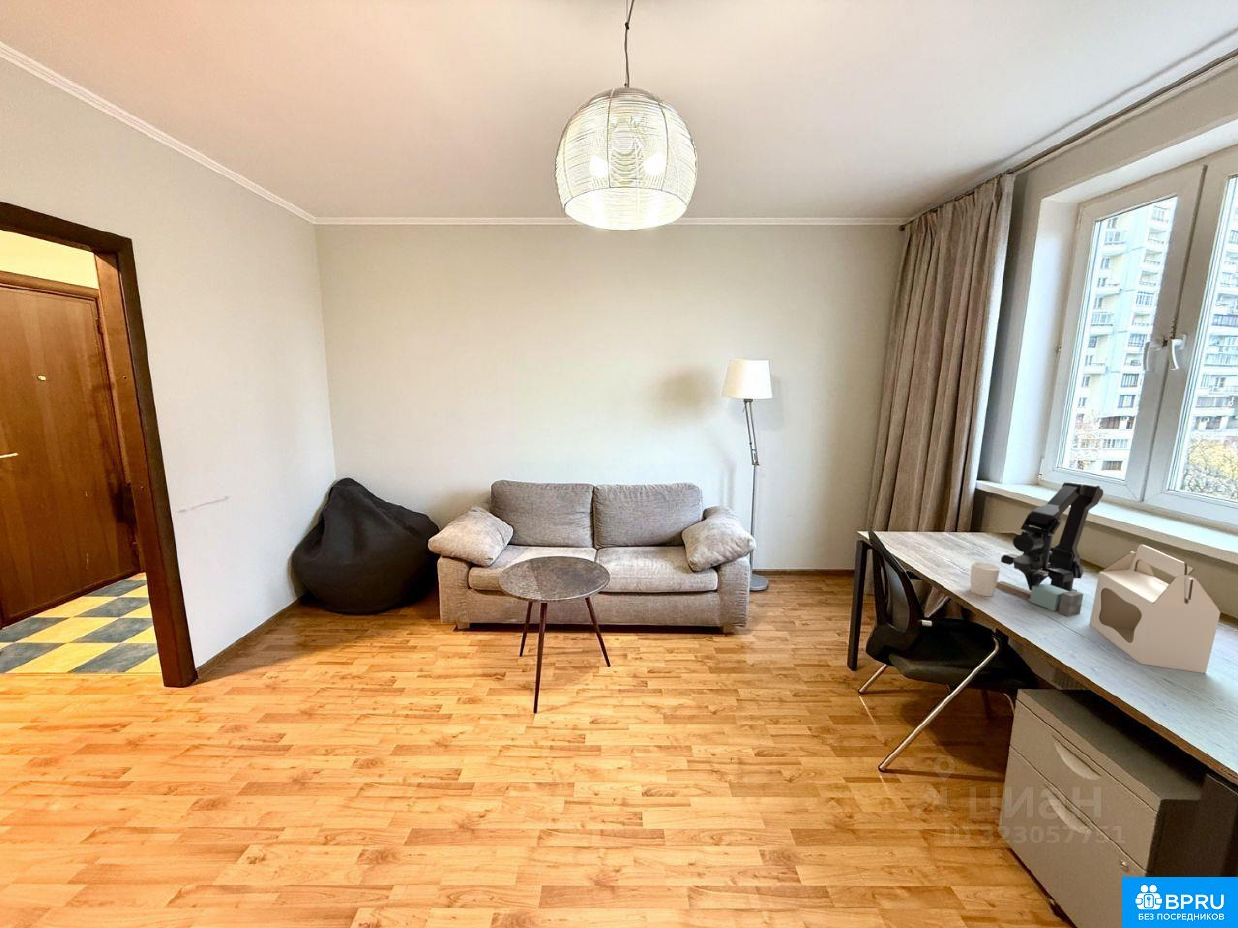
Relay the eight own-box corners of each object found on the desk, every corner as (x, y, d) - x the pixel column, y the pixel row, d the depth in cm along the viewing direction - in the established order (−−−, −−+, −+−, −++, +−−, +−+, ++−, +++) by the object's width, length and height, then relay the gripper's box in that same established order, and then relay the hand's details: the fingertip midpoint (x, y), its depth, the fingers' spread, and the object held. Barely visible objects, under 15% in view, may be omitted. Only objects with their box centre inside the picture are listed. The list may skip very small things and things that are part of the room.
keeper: (1043, 598, 161) (1046, 583, 160) (1068, 607, 154) (1071, 591, 153) (1029, 601, 159) (1032, 585, 158) (1054, 610, 152) (1056, 594, 151)
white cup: (1000, 598, 162) (1005, 571, 160) (975, 596, 164) (979, 569, 162) (988, 588, 170) (991, 562, 168) (963, 586, 171) (967, 560, 169)
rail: (1004, 585, 172) (1007, 567, 171) (1079, 613, 151) (1083, 593, 150) (993, 587, 170) (995, 569, 169) (1067, 616, 149) (1071, 596, 148)
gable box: (1207, 674, 120) (1232, 571, 115) (1140, 664, 124) (1161, 564, 119) (1143, 631, 140) (1162, 542, 136) (1088, 624, 145) (1104, 538, 140)
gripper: (993, 541, 165) (986, 582, 168) (1055, 559, 147) (1047, 605, 150) (1015, 538, 168) (1008, 578, 171) (1078, 556, 151) (1070, 601, 153)
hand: (1031, 590), depth 161 cm, fingers closed
